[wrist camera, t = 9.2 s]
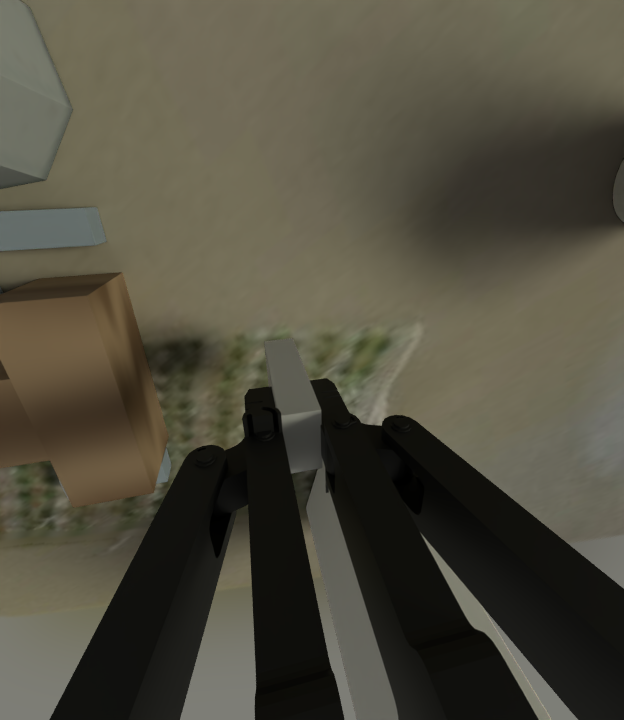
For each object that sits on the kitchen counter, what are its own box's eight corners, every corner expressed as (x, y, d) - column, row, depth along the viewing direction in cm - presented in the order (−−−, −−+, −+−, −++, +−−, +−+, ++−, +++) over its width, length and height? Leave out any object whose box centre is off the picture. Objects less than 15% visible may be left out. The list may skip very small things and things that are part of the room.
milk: (389, 454, 28) (755, 1031, 9) (368, 507, 30) (619, 1062, 11) (320, 451, 26) (585, 1171, 7) (303, 508, 28) (465, 1174, 9)
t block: (-149, 292, 16) (-295, 327, 12) (122, 272, 18) (87, 295, 14) (-36, 468, 21) (-109, 540, 16) (168, 436, 23) (153, 492, 18)
